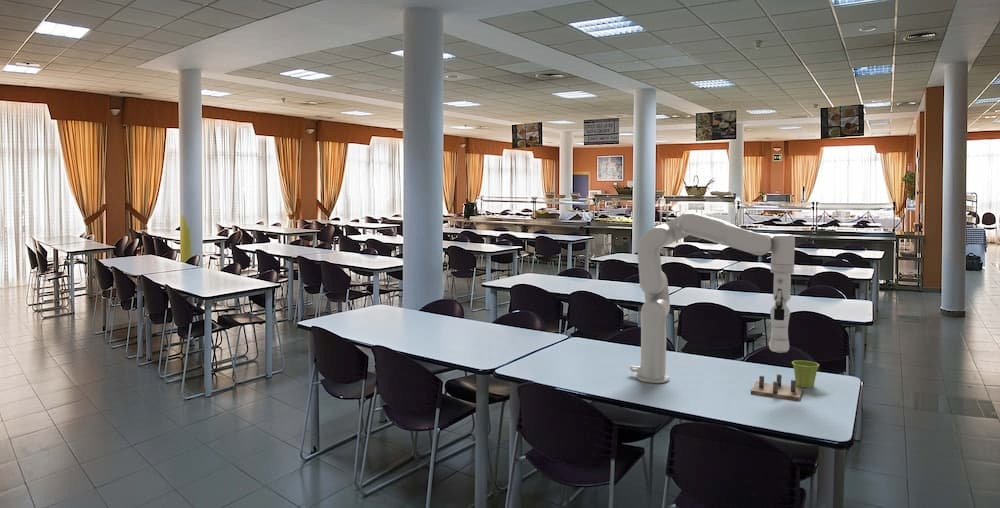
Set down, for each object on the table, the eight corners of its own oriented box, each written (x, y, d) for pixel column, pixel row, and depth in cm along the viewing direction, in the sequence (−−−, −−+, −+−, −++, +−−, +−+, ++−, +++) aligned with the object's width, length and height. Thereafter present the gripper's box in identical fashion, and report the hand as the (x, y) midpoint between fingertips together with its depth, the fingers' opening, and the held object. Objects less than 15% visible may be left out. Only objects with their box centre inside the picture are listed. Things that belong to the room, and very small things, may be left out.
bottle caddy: (750, 393, 228) (751, 379, 228) (756, 384, 239) (756, 371, 239) (799, 400, 220) (800, 386, 220) (802, 391, 231) (803, 377, 231)
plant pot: (785, 383, 241) (786, 361, 240) (804, 381, 244) (805, 359, 243) (804, 390, 232) (805, 367, 231) (824, 388, 235) (825, 365, 234)
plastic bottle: (791, 355, 225) (793, 299, 223) (770, 354, 226) (773, 298, 224) (786, 350, 231) (789, 296, 229) (766, 349, 232) (769, 295, 230)
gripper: (791, 271, 216) (789, 323, 218) (796, 267, 231) (793, 315, 233) (767, 270, 220) (765, 321, 222) (773, 265, 235) (771, 313, 237)
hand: (780, 317), depth 227 cm, fingers closed on plastic bottle, 6 cm apart
